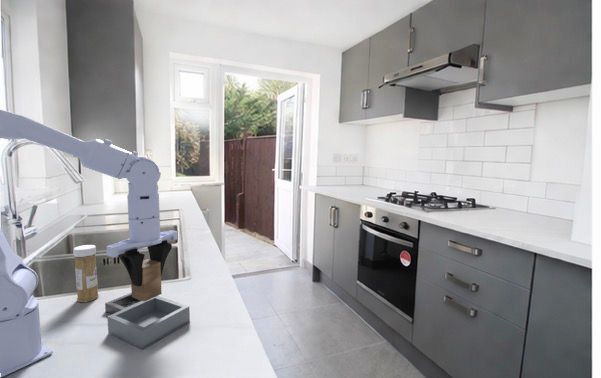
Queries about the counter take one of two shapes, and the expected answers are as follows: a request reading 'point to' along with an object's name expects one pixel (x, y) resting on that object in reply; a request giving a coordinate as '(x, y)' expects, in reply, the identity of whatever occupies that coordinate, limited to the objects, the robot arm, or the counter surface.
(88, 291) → the sprinkles bottle
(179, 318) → the tray
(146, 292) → the brown wooden block
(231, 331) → the counter surface
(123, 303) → the socket collar
